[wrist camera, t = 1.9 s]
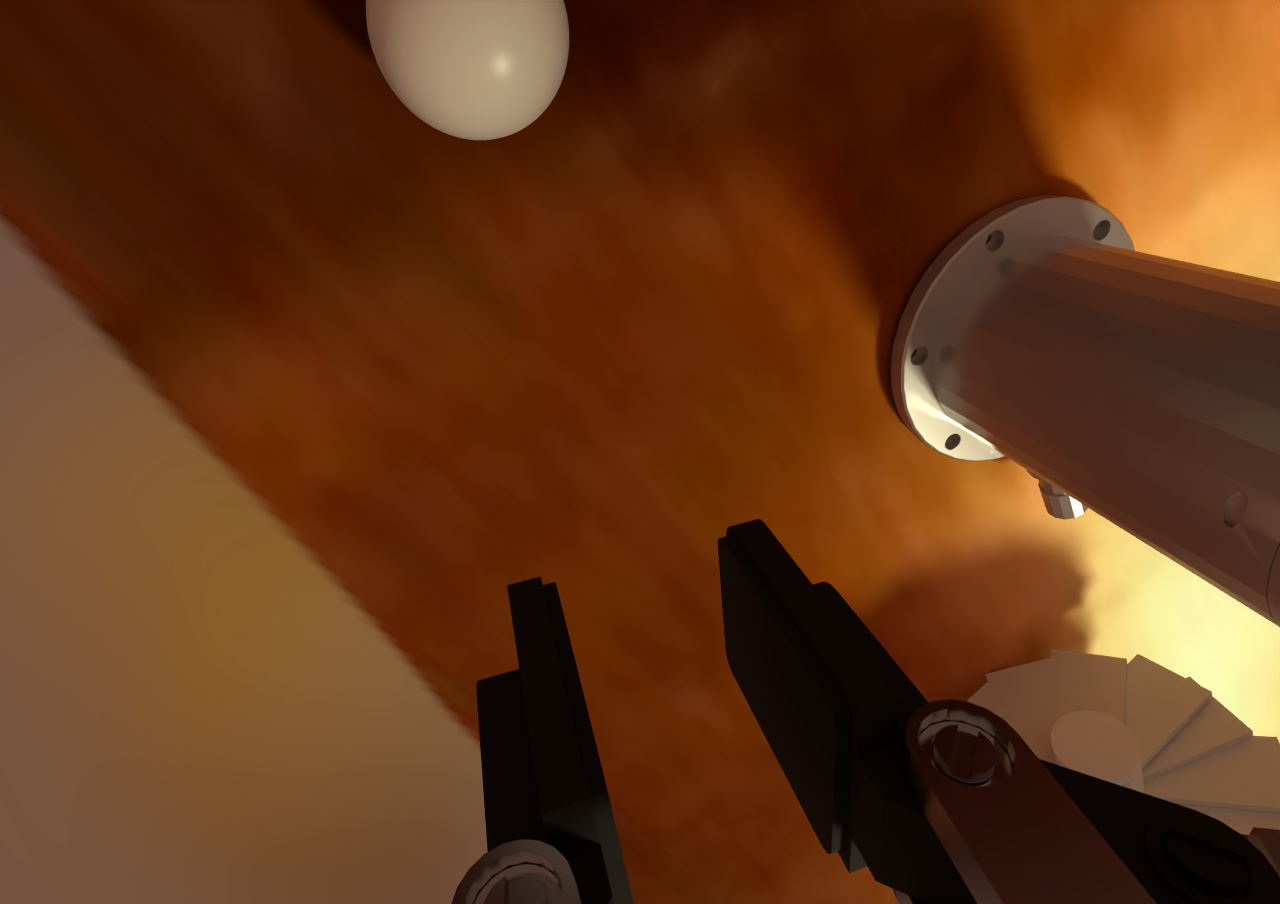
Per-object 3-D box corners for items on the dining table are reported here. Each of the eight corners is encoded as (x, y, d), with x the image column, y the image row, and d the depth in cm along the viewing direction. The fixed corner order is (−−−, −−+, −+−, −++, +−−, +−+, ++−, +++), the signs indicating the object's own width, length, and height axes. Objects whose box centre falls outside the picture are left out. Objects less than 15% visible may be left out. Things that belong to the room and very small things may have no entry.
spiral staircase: (1006, 577, 47) (1050, 773, 59) (866, 780, 40) (948, 956, 52) (1391, 693, 33) (1347, 922, 44) (1278, 1042, 26) (1262, 1202, 37)
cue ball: (586, 73, 22) (626, 65, 18) (454, 169, 23) (458, 188, 18) (482, -111, 20) (496, -178, 15) (332, 2, 20) (301, -28, 15)
